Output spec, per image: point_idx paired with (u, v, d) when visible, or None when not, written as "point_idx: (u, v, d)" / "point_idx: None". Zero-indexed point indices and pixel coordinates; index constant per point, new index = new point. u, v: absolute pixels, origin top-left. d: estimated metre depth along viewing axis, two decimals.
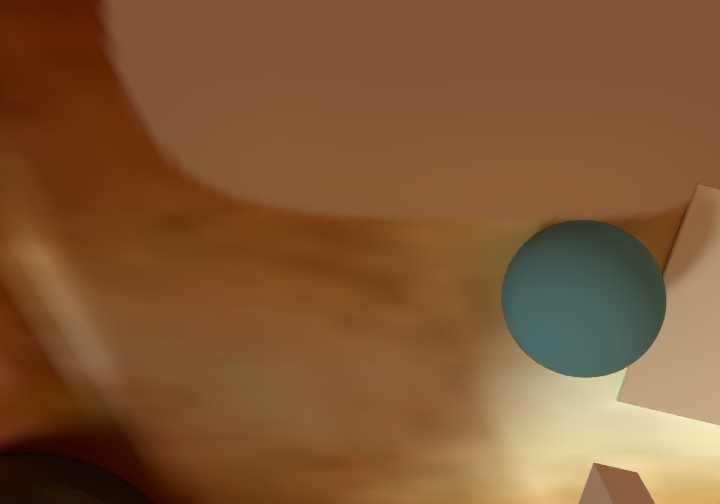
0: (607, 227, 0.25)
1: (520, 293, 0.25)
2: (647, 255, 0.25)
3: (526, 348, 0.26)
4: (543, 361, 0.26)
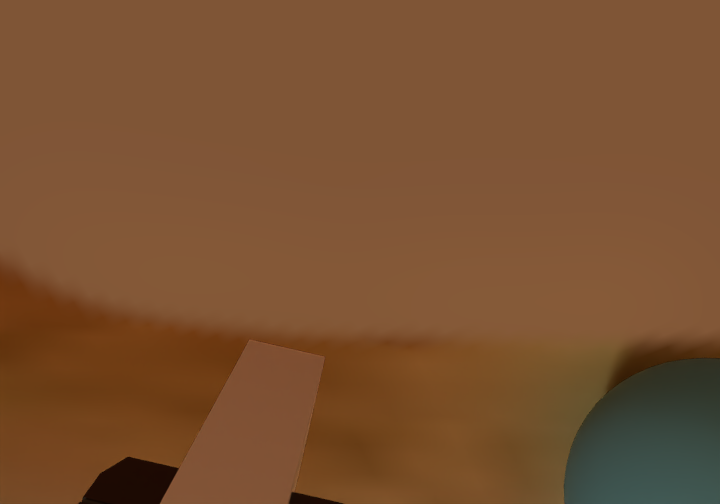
0: None
1: None
2: None
3: None
4: None
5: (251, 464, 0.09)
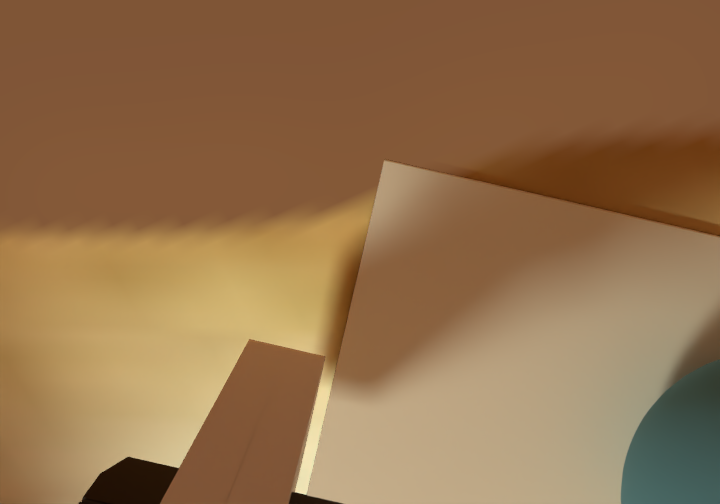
0: None
1: None
2: None
3: None
4: None
5: (251, 464, 0.09)
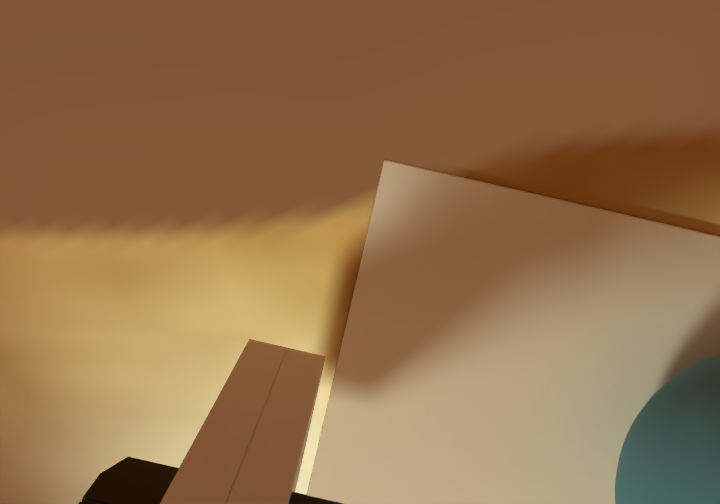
0: None
1: None
2: None
3: None
4: None
5: (251, 464, 0.09)
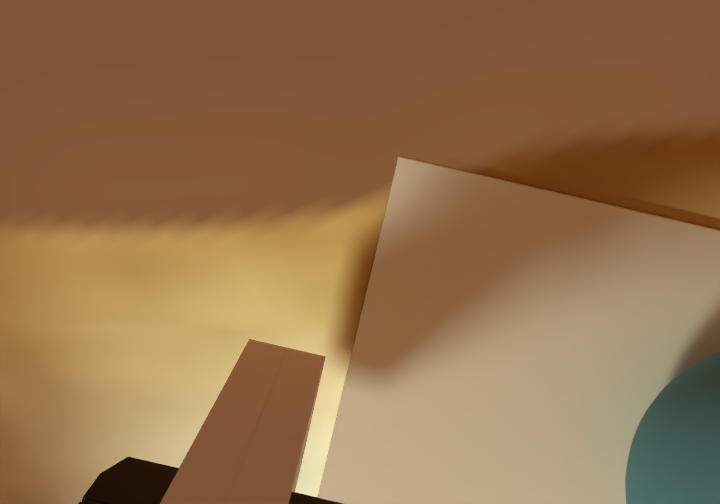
0: None
1: None
2: None
3: None
4: None
5: (251, 464, 0.09)
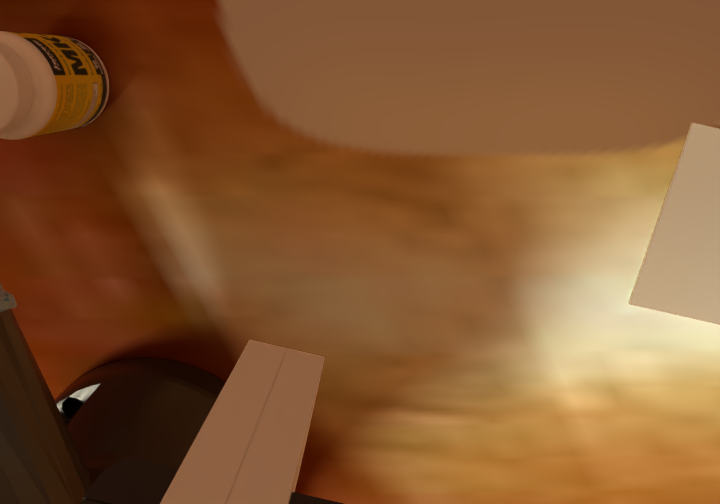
0: None
1: None
2: None
3: None
4: None
5: (251, 464, 0.09)
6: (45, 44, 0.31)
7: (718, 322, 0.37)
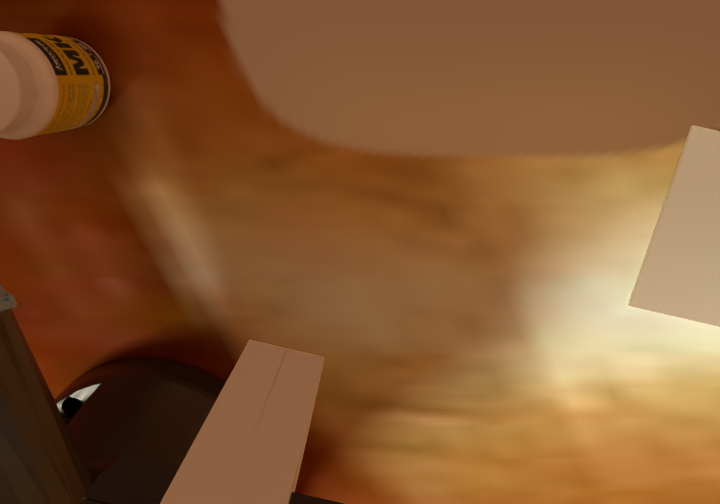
0: None
1: None
2: None
3: None
4: None
5: (251, 464, 0.09)
6: (47, 44, 0.31)
7: (717, 324, 0.38)
